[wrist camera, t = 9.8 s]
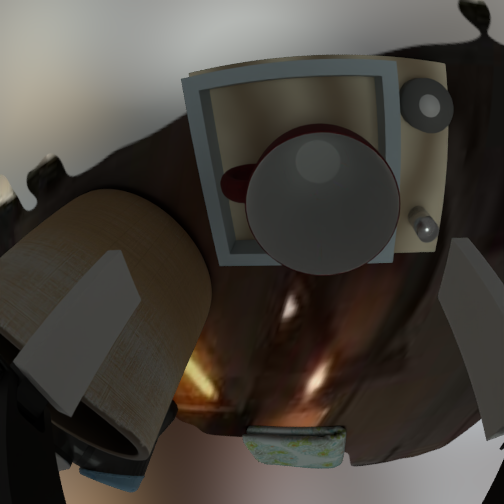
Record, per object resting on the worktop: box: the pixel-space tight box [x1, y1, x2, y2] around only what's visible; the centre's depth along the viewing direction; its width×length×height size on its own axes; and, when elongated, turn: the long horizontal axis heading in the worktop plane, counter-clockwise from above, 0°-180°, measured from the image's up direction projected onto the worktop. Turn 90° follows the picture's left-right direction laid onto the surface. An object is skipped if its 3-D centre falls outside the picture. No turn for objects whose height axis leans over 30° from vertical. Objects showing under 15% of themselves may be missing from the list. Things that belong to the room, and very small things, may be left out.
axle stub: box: [408, 206, 439, 243], centre depth 22 cm, size 2×2×3 cm
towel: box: [242, 426, 346, 468], centre depth 53 cm, size 18×21×5 cm
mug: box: [220, 123, 401, 276], centre depth 19 cm, size 11×8×10 cm
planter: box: [0, 189, 212, 460], centre depth 26 cm, size 22×22×20 cm
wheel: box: [399, 78, 453, 133], centre depth 17 cm, size 4×4×2 cm
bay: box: [181, 59, 401, 266], centre depth 22 cm, size 15×16×2 cm
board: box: [189, 55, 448, 253], centre depth 23 cm, size 21×18×1 cm
